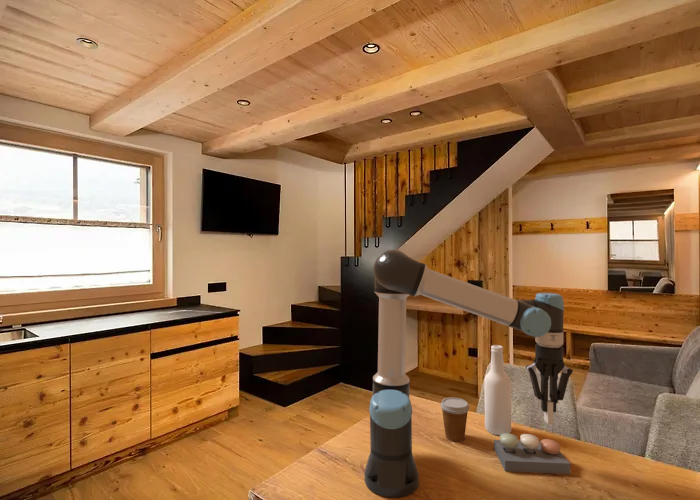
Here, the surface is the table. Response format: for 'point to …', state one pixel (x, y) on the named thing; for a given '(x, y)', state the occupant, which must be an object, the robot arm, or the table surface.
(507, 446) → the sage button
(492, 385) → the alcohol
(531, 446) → the ivory button
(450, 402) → the disposable coffee cup
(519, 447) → the button board
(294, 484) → the table surface
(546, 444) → the terracotta button
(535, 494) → the table surface
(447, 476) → the table surface
